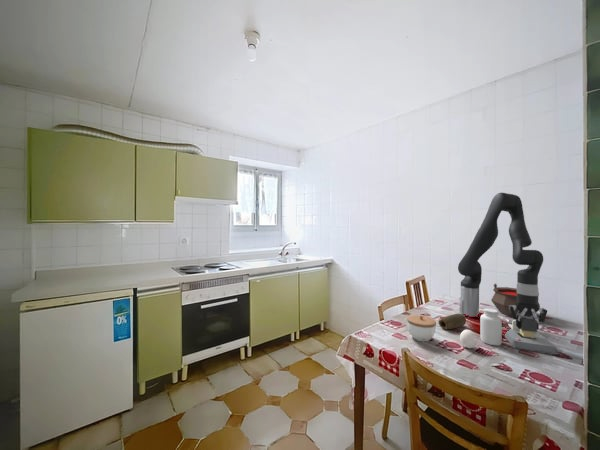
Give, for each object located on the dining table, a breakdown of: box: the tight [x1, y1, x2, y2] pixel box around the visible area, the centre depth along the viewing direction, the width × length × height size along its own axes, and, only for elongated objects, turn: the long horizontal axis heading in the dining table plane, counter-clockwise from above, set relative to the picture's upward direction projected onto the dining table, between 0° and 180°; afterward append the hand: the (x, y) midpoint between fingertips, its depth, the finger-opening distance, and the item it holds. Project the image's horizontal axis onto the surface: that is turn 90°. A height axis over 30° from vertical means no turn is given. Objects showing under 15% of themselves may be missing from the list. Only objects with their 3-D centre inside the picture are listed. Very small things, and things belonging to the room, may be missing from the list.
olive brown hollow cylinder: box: [438, 313, 467, 330], centre depth 134 cm, size 15×7×7 cm, turn 117°
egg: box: [459, 329, 478, 349], centre depth 113 cm, size 6×6×8 cm
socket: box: [502, 326, 557, 355], centre depth 117 cm, size 14×16×4 cm
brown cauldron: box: [490, 283, 541, 317], centre depth 153 cm, size 24×24×16 cm
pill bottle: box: [479, 308, 503, 346], centre depth 118 cm, size 8×8×15 cm
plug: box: [520, 316, 538, 338], centre depth 117 cm, size 5×5×8 cm
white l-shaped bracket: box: [507, 319, 520, 331], centre depth 125 cm, size 6×6×4 cm
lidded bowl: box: [406, 314, 437, 343], centre depth 122 cm, size 13×13×11 cm
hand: (527, 329), depth 117 cm, fingers closed on plug, 5 cm apart
